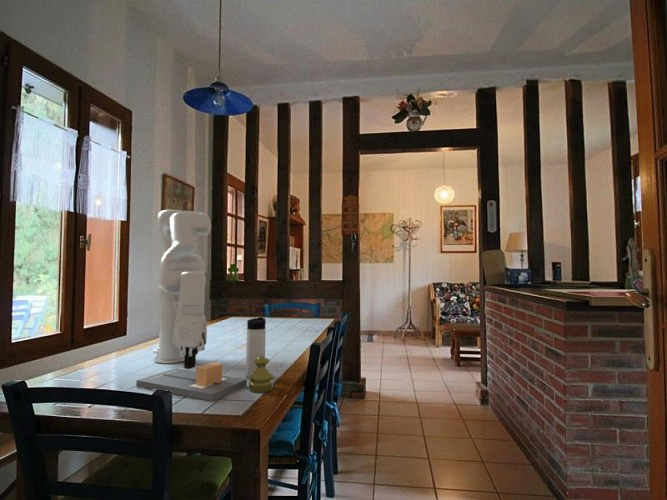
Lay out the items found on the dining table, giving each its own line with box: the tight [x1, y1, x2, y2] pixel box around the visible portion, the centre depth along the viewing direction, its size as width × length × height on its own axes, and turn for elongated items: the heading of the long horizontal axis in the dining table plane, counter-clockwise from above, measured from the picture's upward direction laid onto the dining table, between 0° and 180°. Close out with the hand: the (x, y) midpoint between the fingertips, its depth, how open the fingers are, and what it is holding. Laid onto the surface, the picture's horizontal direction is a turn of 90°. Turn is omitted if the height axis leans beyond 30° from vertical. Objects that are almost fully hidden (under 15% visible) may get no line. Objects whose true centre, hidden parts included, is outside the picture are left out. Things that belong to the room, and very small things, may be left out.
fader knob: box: [195, 362, 223, 386], centre depth 120 cm, size 4×7×5 cm, turn 156°
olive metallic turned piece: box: [248, 356, 274, 394], centre depth 120 cm, size 7×8×10 cm
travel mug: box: [245, 317, 267, 380], centre depth 133 cm, size 6×7×20 cm
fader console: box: [135, 368, 248, 402], centre depth 122 cm, size 30×16×2 cm, turn 66°
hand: (189, 367), depth 123 cm, fingers closed
